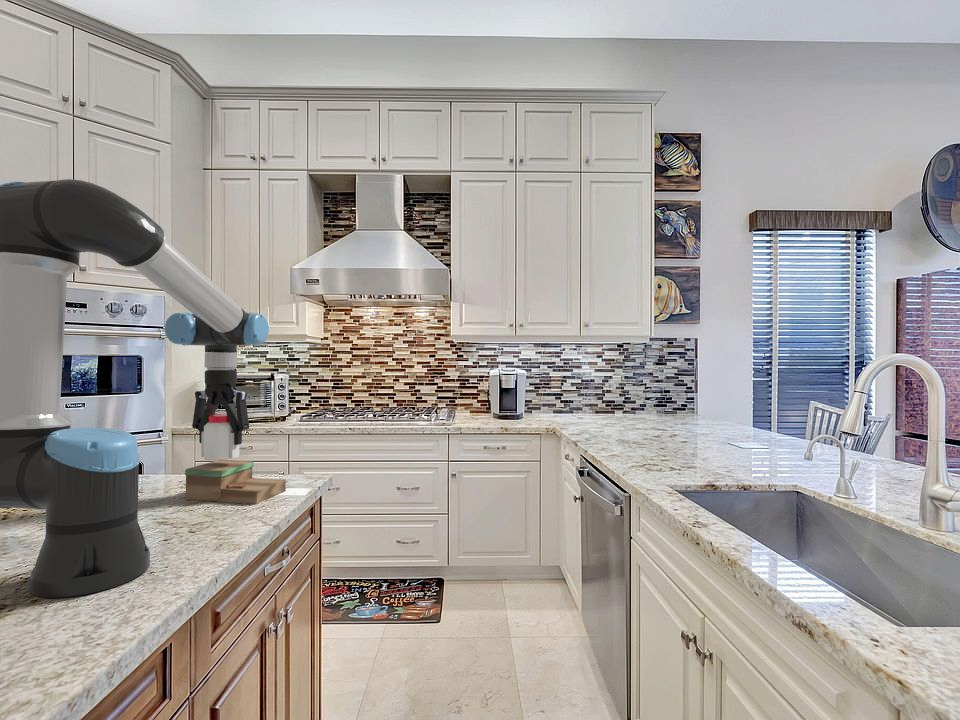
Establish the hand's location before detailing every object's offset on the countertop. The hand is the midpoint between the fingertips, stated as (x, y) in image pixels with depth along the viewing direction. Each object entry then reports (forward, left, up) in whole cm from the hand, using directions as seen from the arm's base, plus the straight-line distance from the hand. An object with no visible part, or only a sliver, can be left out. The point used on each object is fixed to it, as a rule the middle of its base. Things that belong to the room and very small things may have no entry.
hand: (220, 456), depth 128 cm
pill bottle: (0, 0, 0) cm, 0 cm away
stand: (0, -5, -10) cm, 11 cm away
